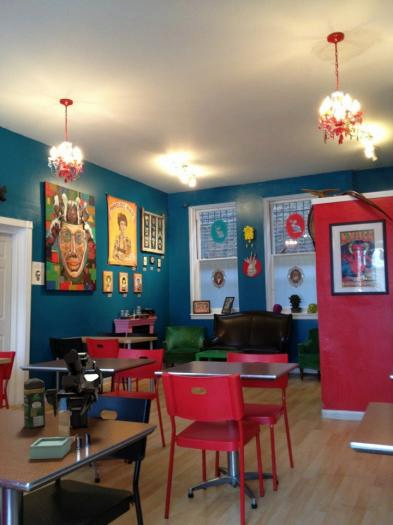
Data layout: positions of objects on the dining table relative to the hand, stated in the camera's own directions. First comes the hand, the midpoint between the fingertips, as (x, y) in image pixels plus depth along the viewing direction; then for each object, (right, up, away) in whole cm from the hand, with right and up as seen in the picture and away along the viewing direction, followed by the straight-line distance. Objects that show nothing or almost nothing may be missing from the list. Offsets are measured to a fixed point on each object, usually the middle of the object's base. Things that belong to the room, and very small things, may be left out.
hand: (67, 415), depth 174 cm
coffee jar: (-19, -11, +20) cm, 30 cm away
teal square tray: (0, -6, -20) cm, 21 cm away
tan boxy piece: (0, -7, -7) cm, 10 cm away
